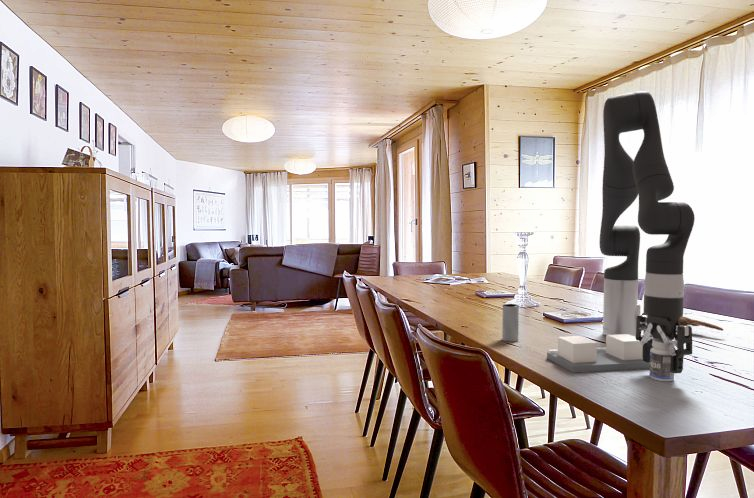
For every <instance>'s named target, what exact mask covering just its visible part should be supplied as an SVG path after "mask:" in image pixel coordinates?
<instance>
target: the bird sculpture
mask: <svg viewBox="0 0 754 498" xmlns="http://www.w3.org/2000/svg"><path fill="white" fill-rule="evenodd" d="M641 315H646V314H645V313H644V312H643V313H642V314H641ZM679 323H680V325H681V326H691V327H692V326H693V327H699V326H700V327H701V326H702V327H706V328H709V329H713V330H717V331H722V332H723V331H724V328H722V327H719V325H716V324H711V323H709V322H705V321H702V320H698V319H692V318H689V317H686V316H684V315H683V316H682V317H680V318H679Z"/></svg>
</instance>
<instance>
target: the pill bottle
mask: <svg viewBox="0 0 754 498" xmlns="http://www.w3.org/2000/svg"><path fill="white" fill-rule="evenodd" d="M652 346H653V348H651V350H650V368H649V378H651V379H652V380H655V381H659V382H672V381H674V380H675V373H672V372H671V371H670V364H671V355H672V354H671V352H670V350H669V348H668V347H667V346H666V345H665V344H664V341H661V340H659V339H653V340H652Z"/></svg>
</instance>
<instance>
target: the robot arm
mask: <svg viewBox="0 0 754 498" xmlns="http://www.w3.org/2000/svg"><path fill="white" fill-rule="evenodd" d="M602 116H603V117H602V119H603V120H602V121H603V124H602V125H603V142H604V143H603V144H604V145H603V146H604V149H603V150H604V153H603V154H604V155H603V172H602V173H603V174H602V187H601V188H602V192H601V193H602V213H601V221H600V222H601V223H600V229H599V230H600V231H599V232H600V234H599V251H600V253H601V254H602V255H603V256H608V257H626V260H624V261H623V262H621V263H620V264H617V265H615V266H614V265H613V266H610V267H607V268H605V270H604V272H603V304H602V305H603V307H602V309H603V310H602V311H603V313H602V314H603V315H602V318H603V319H602V335H604V336H606V335H617V334H629V335H632V336H635V337H636V340H637V341H640V342H641V344H642V345H643V354H642V356H643V361H644V362H650V350H651V348H653V346H652V340H653V339H659V340H661V341H664V344H665V345H666V346H667V347H668V348H669V350H670V352H671V354H672V355H671V364H670V371H671V372H672V373H674V374H682V373H683V370H684V357H685V356H691V355H693V328H692V325H687V326H681V325H680V323H679V318H680V317H682V316H683V317H684V300H685V299H684V298H685V297H684V295H685V282H684V281H685V280H684V255H685V252H686V248H687V246H688V242H689V239H690V236H691V234H692V232H693V231H692V230H693V229H694V225H695V219H696V218H695V213H694V210H693V208H692V207H691V206H690V205H689V204H688V203H687V202H683V201H676V202H675V201H674V202H673V201H668V202H667V201H664V202H663V201H662V200H666V199H667V198H669V197H670V196H671V195H672V194H673V193H674V191H675V185H674V182H673V179H672V176H671V173H670V170H669V167H668V165H667V161H666V159H665V154H664V149H663V144H662V135H661V129H660V128H661V127H660V124H659V117H658V111H657V107H656V103H655V100H654V98H653V95H652V94H651V93H650V92H649V91H646V90H642V91H641V90H640V91H634V92H629V93H624V94H618V95H615V96H614V95H613V96H610V97H608V98H607V99H606V100H605V102H604V105H603V114H602ZM639 130H642V131H643V140H642V143H641V145H640V147H639V148H638V151H637V153H636V154H635V157H634V159H633V158H632V156H630V155H629V153H628V152H626V150H625V149H624V147H623V146H622V143H621V141H620V134H621V133H628V132H634V131H639ZM637 197H638V212H637V223H638V226H639V227H638V226H636V225H615V224H616V223H617V220H619V218H620V217H621V215H623V213H624V212H625V211H626V210H627V209H628V208H630V206H631V205H633V203H634V202H635V201H636V200H637ZM639 228H640V229H639ZM640 230H641V231H643V232H644V233H645V234H647V235H652V236H655V235H656V236H657V235H660V236H661V235H666V236H667V235H668V236H667V238H666V240H665V242H663V243H661V244H658V245H653V246H651V247H649V248H647V250H646V255H645V278H644V281H643V282H644V285H643V287H644V288H643V313H645V314H646V315H642V314H641V305H640V303H639V304H638V302H639V301H638V300H639V299H638V294H639V293H638V292H639V258H640V249H641V248H640V247H641V232H640ZM642 332H643V334H642ZM684 346H685V347H684Z"/></svg>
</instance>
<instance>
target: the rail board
mask: <svg viewBox="0 0 754 498" xmlns="http://www.w3.org/2000/svg"><path fill="white" fill-rule="evenodd" d="M605 337H606V338H605V346H602V347H600V346H599V347H598V342H597V341H594V340H591V339H589V338H587V337H585V336H584V337H583V336H582V335H576V336H574V335H572V336H558V337H557V348H556V349H554V348H553V349H547V352H546V359H547V360H549V361H551V362H552V363H554V364H556V365H559V366H560V367H562V368H563V369H565V370H567V371H569V372H570V373H590V372H609V371H612V372H613V371H630V370H645V369H646V370H647V369H648V370H650V362H644V361H643V356H642V354H643V345H642V344H641V342H640V341H637V340H636V337H635V336H632V335H629V334H617V335H605Z"/></svg>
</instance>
